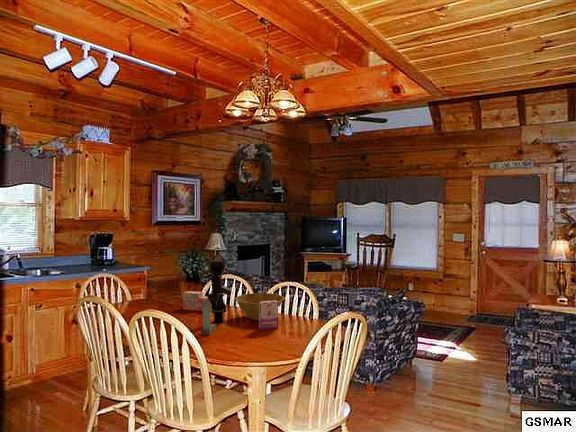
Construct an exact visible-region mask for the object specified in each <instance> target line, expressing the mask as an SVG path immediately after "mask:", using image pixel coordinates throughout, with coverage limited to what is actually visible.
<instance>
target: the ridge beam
mask: <svg viewBox="0 0 576 432" xmlns="http://www.w3.org/2000/svg"><path fill="white" fill-rule="evenodd" d="M217 324H218V323H210V330H203V328H202V329H200V335H201V336H205V335H207V336H208V337H210V336H211V335H212V334H213V333H214V332H215V331H216V330H217V326H218V325H217Z"/></svg>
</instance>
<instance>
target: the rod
mask: <svg viewBox="0 0 576 432" xmlns="http://www.w3.org/2000/svg"><path fill="white" fill-rule="evenodd" d="M210 324H211V311H210V306H204V307H203V311H202V329H203V330H210Z"/></svg>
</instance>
